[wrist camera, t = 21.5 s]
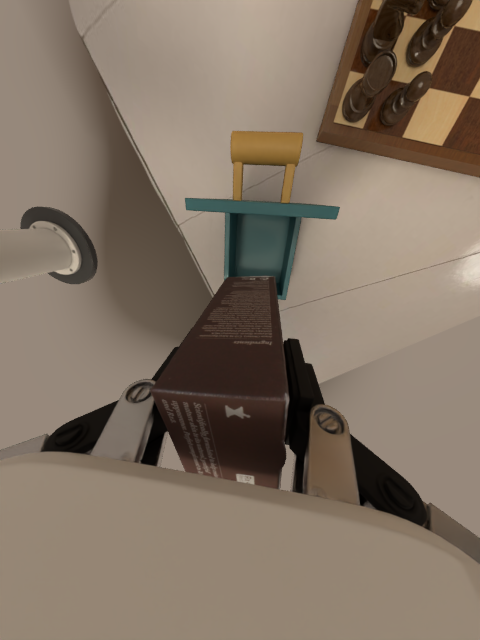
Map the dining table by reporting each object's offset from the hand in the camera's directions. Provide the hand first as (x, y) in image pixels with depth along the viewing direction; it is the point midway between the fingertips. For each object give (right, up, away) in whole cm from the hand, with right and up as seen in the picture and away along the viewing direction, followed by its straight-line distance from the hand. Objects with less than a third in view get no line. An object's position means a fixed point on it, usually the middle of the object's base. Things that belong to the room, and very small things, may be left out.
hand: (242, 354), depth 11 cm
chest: (+4, +17, +27) cm, 32 cm away
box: (+1, +3, +6) cm, 7 cm away
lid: (+2, +14, +9) cm, 17 cm away
